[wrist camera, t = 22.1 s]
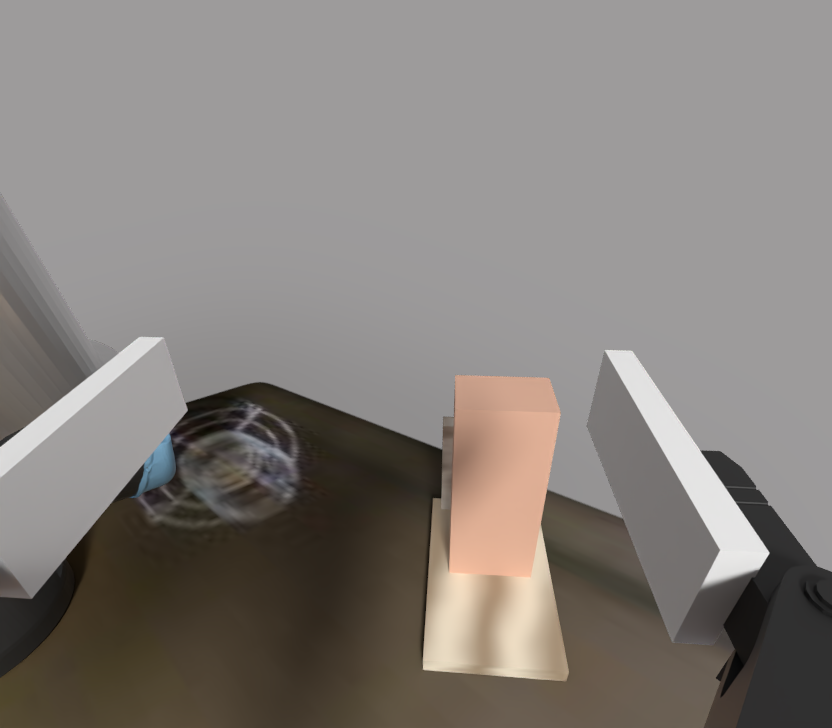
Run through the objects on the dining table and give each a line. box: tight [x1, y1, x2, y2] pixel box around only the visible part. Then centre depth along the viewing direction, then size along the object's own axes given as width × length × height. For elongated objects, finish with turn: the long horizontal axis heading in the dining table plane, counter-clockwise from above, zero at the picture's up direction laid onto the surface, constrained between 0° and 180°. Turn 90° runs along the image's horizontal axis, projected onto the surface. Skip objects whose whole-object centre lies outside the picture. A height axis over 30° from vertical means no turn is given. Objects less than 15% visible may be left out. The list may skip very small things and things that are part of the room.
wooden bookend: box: [423, 417, 569, 681], centre depth 43 cm, size 12×18×14 cm, turn 175°
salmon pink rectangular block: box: [449, 375, 561, 577], centre depth 42 cm, size 8×5×20 cm, turn 86°
